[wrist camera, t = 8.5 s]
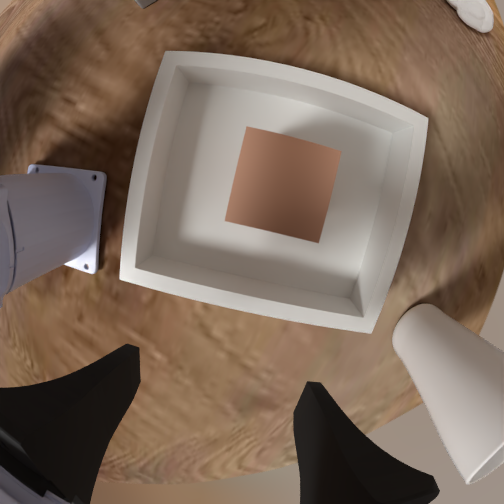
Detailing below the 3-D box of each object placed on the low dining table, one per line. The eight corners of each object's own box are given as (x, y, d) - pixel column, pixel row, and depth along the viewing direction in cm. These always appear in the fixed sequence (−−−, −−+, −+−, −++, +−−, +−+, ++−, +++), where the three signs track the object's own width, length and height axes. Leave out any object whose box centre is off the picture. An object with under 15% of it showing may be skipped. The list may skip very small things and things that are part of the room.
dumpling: (482, 26, 12) (501, 15, 8) (476, 44, 13) (498, 33, 9) (437, -17, 11) (452, -31, 7) (427, -3, 12) (444, -20, 8)
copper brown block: (236, 208, 17) (224, 221, 11) (251, 146, 16) (246, 126, 10) (298, 223, 17) (318, 243, 11) (313, 162, 16) (341, 151, 10)
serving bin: (144, 261, 19) (119, 279, 15) (183, 74, 16) (165, 50, 12) (352, 307, 19) (371, 333, 15) (399, 128, 16) (428, 118, 12)
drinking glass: (429, 276, 19) (561, 375, 4) (451, 325, 20) (545, 419, 5) (369, 330, 20) (459, 479, 5) (399, 371, 21) (469, 490, 6)
